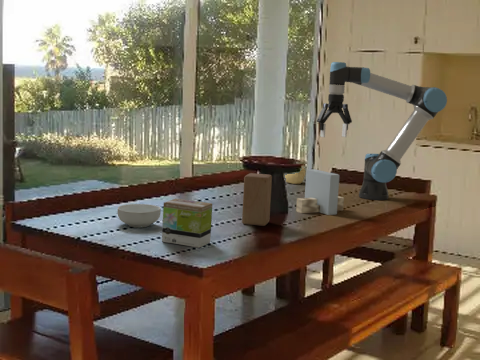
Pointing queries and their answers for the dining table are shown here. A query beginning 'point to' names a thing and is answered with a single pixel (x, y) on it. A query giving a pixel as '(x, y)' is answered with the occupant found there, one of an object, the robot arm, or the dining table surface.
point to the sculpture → (296, 177)
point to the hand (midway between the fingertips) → (333, 137)
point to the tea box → (187, 222)
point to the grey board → (323, 189)
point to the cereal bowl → (139, 214)
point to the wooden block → (256, 199)
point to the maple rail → (314, 205)
